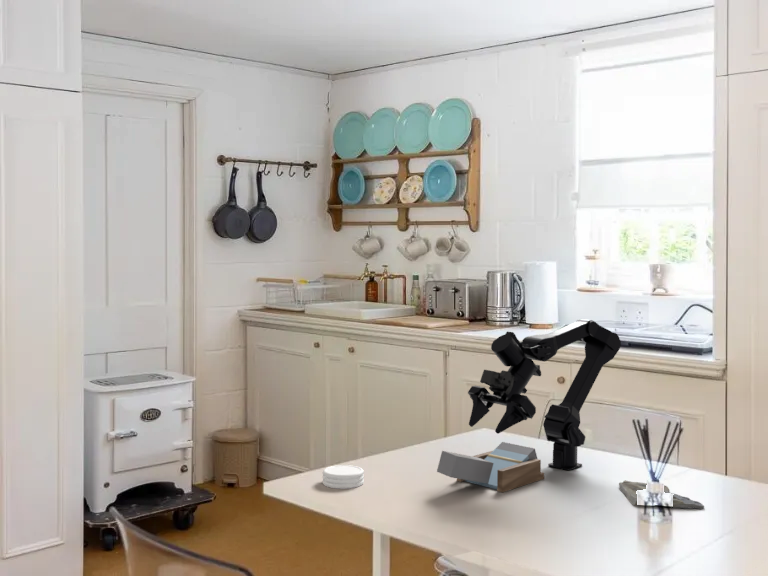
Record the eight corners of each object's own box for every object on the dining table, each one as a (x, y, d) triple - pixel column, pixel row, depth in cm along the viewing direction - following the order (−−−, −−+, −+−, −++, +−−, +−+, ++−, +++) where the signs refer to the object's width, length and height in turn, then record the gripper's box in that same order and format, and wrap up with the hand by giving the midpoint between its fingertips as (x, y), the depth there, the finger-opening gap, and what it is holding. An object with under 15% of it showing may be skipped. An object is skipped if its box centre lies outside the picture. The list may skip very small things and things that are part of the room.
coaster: (335, 492, 211) (335, 477, 211) (315, 482, 219) (315, 468, 219) (371, 485, 216) (371, 471, 216) (350, 476, 225) (350, 462, 225)
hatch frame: (544, 478, 221) (544, 458, 221) (502, 492, 210) (502, 471, 210) (498, 468, 231) (499, 448, 231) (456, 480, 220) (456, 460, 219)
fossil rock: (615, 488, 215) (616, 479, 215) (678, 489, 215) (678, 479, 215) (636, 511, 197) (636, 500, 197) (704, 511, 197) (705, 501, 197)
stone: (478, 457, 218) (442, 450, 210) (493, 463, 214) (456, 456, 206) (473, 477, 218) (436, 471, 210) (488, 483, 214) (451, 477, 206)
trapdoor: (537, 458, 223) (534, 447, 221) (500, 496, 213) (497, 485, 212) (505, 451, 230) (502, 441, 229) (467, 488, 220) (464, 477, 219)
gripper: (473, 353, 225) (439, 402, 219) (527, 361, 210) (492, 414, 204) (496, 381, 230) (463, 430, 224) (550, 391, 215) (517, 444, 209)
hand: (483, 429), depth 215 cm, fingers open, 9 cm apart
